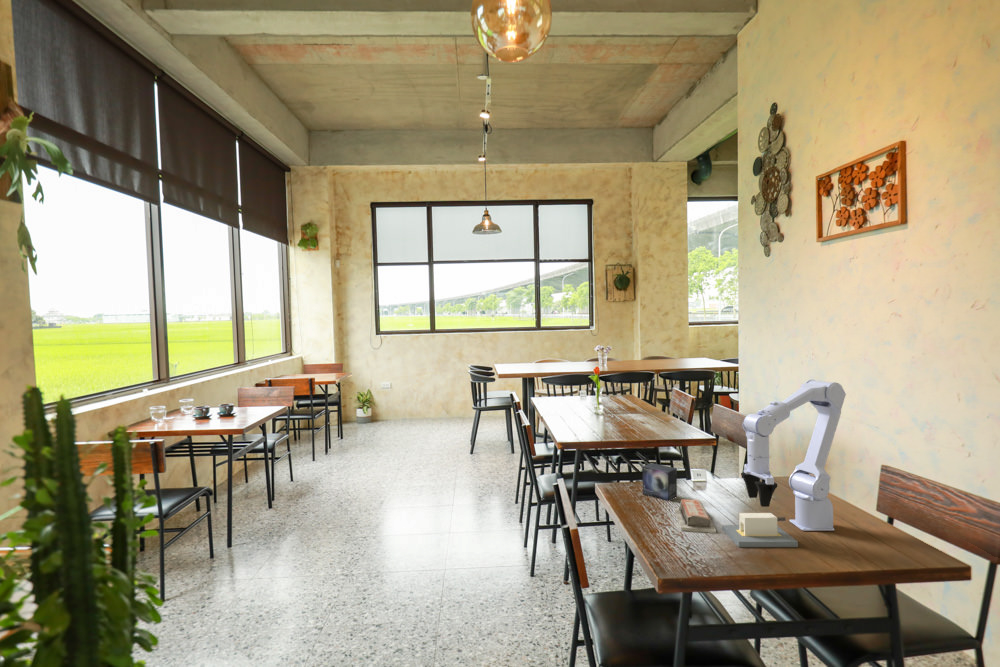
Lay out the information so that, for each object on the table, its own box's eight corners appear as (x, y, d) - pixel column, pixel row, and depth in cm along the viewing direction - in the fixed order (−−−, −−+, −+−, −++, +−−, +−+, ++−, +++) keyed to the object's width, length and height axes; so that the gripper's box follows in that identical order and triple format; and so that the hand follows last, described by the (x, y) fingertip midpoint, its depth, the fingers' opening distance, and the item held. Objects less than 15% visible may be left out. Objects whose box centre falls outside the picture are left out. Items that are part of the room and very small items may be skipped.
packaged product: (674, 497, 176) (705, 498, 174) (674, 511, 176) (706, 513, 174) (680, 516, 158) (716, 518, 156) (680, 532, 159) (716, 534, 156)
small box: (641, 494, 193) (641, 465, 192) (651, 490, 197) (651, 462, 197) (668, 501, 185) (667, 471, 185) (677, 497, 189) (677, 467, 189)
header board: (776, 530, 158) (776, 518, 158) (798, 547, 146) (797, 534, 146) (722, 530, 159) (721, 518, 158) (738, 547, 147) (738, 534, 146)
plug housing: (781, 530, 154) (781, 512, 154) (788, 535, 150) (788, 517, 150) (739, 530, 154) (739, 513, 154) (745, 535, 151) (744, 517, 150)
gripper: (734, 449, 163) (734, 493, 163) (755, 462, 148) (756, 510, 148) (757, 449, 163) (757, 493, 163) (781, 461, 148) (781, 510, 148)
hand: (758, 501), depth 156 cm, fingers open, 7 cm apart
